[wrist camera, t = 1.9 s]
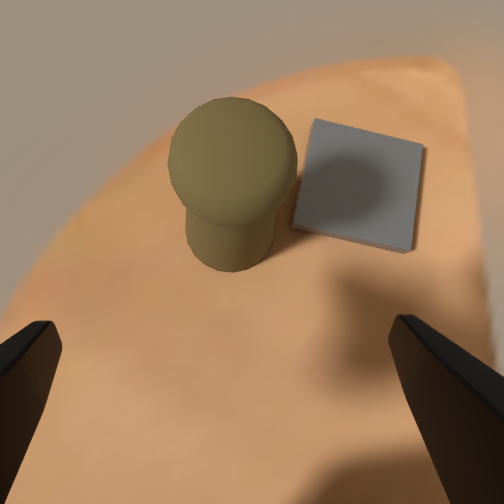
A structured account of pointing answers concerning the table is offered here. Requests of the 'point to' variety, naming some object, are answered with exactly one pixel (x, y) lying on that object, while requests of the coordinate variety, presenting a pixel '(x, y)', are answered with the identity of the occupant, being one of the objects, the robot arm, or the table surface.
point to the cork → (232, 179)
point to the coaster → (359, 186)
